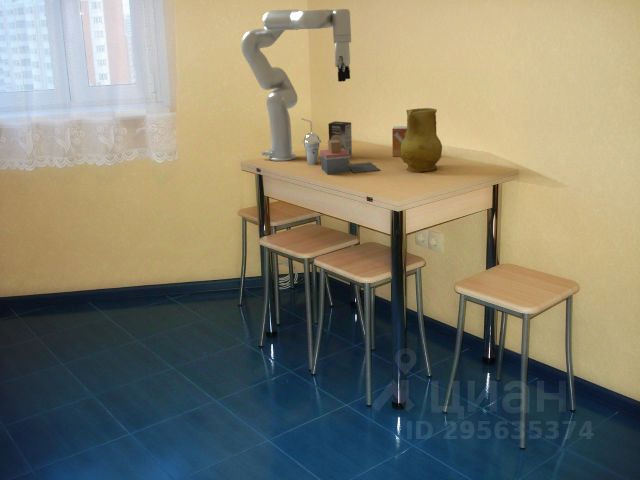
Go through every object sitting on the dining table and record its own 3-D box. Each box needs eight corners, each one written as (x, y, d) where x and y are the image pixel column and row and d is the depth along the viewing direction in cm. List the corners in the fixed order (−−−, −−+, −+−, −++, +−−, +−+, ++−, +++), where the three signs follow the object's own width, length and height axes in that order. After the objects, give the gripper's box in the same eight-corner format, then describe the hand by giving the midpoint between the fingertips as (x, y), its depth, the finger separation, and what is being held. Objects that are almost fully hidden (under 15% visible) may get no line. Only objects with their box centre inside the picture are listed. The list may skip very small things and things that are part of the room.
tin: (327, 174, 306) (326, 158, 304) (321, 169, 317) (320, 153, 315) (350, 172, 308) (349, 156, 306) (343, 166, 319) (342, 151, 317)
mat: (353, 173, 306) (353, 172, 306) (344, 165, 321) (344, 164, 321) (380, 170, 308) (380, 169, 308) (370, 163, 323) (370, 162, 323)
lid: (326, 158, 304) (325, 144, 302) (320, 153, 315) (319, 139, 313) (349, 156, 306) (349, 142, 304) (342, 151, 317) (342, 138, 315)
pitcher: (393, 168, 312) (392, 109, 304) (430, 162, 318) (430, 105, 311) (413, 175, 297) (413, 114, 289) (452, 169, 303) (453, 109, 296)
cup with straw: (307, 166, 324) (304, 121, 317) (300, 162, 332) (297, 118, 325) (325, 164, 326) (323, 119, 320) (317, 160, 335) (315, 116, 328)
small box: (392, 156, 335) (391, 128, 331) (393, 154, 340) (393, 126, 336) (410, 156, 333) (409, 128, 329) (411, 154, 339) (411, 125, 335)
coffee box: (328, 158, 339) (327, 123, 334) (335, 155, 344) (334, 121, 339) (345, 159, 334) (344, 124, 329) (352, 156, 339) (351, 122, 334)
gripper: (337, 38, 321) (339, 78, 327) (329, 40, 305) (331, 82, 311) (354, 37, 320) (356, 77, 325) (346, 40, 304) (348, 82, 309)
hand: (344, 80), depth 318 cm, fingers open, 9 cm apart
